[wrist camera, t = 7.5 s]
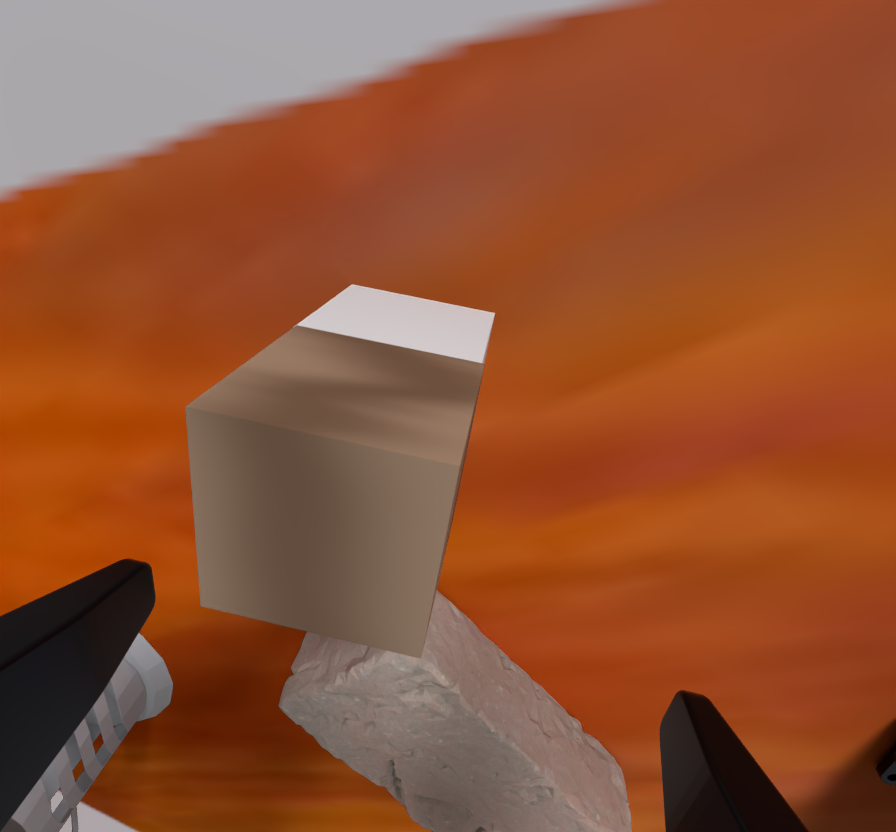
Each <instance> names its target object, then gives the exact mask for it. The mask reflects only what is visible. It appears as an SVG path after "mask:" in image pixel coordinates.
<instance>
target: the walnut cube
mask: <svg viewBox="0 0 896 832" xmlns="http://www.w3.org/2000/svg"><path fill="white" fill-rule="evenodd" d="M484 365H485V364H484V363H479V362H474V361H469V360H464V359H459V358H454V357H449V356H444V355H440V354H435V353H430V352H425V351H420V350H415V349H410V348H405V347H401V346H396V345H391V344H386V343H381V342H376V341H371V340H366V339H362V338H357V337H352V336H347V335H342V334H337V333H332V332H327V331H322V330H318V329H313V328H308V327H303V326H298V325H296V326H295V327H294V328H292V329H291V330H289V331H288V332H287V333H285V334H284V335H283V336H281V337H280V338H278V339H277V340H276V341H274V342H273V343H272V344H270V345H269V346H268V347H266V348H265V349H263V350H262V351H261V352H259V353H258V354H257V355H255V356H254V357H253V358H251V359H250V360H248V361H247V362H246V363H244V364H243V365H242V366H240V367H239V368H237V369H236V370H235V371H233V372H232V373H231V374H229V375H228V376H227V377H225V378H224V379H222V380H221V381H220V382H218V383H217V384H216V385H214V386H213V387H212V388H210V389H209V390H207V391H206V392H205V393H203V394H202V395H201V396H199V397H198V398H196V399H195V400H194V401H192V402H191V403H190V404H188V405H187V406H186V407H185V408H186V421H187V434H188V447H189V460H190V473H191V486H192V499H193V512H194V525H195V538H196V551H197V564H198V577H199V590H200V603H201V606H202V607H207V608H211V609H215V610H219V611H223V612H227V613H232V614H236V615H240V616H244V617H248V618H252V619H257V620H261V621H265V622H269V623H273V624H278V625H282V626H286V627H290V628H294V629H298V630H303V631H307V632H311V633H315V634H319V635H323V636H328V637H332V638H336V639H340V640H344V641H349V642H353V643H357V644H361V645H365V646H369V647H374V648H378V649H382V650H386V651H390V652H394V653H399V654H403V655H407V656H411V657H415V658H420V659H421V657H422V653H423V648H424V644H425V639H426V635H427V630H428V626H429V622H430V617H431V613H432V608H433V604H434V600H435V595H436V591H437V586H438V582H439V578H440V573H441V569H442V564H443V560H444V555H445V551H446V547H447V542H448V538H449V533H450V529H451V525H452V520H453V516H454V511H455V506H456V501H457V496H458V491H459V486H460V481H461V477H462V472H463V467H464V462H465V457H466V452H467V447H468V443H469V438H470V433H471V428H472V423H473V418H474V413H475V409H476V404H477V399H478V394H479V389H480V384H481V379H482V374H483V370H484Z"/></svg>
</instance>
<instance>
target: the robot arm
mask: <svg viewBox="0 0 896 832" xmlns="http://www.w3.org/2000/svg"><path fill="white" fill-rule="evenodd" d="M154 604H155V589H154V582H153V574H152V568H151V566H150V565H149V564H148V563H146V562H142V561H137V560H133V559H123V560H120V561H118V562H116V563H114V564H111V565H109V566H107V567H105V568H103V569H101V570H99V571H96V572H94V573H92V574H90V575H88V576H86V577H84V578H81V579H79V580H77V581H75V582H73V583H71V584H68V585H66V586H64V587H62V588H60V589H58V590H56V591H53V592H51V593H49V594H47V595H45V596H43V597H41V598H38V599H36V600H34V601H32V602H30V603H28V604H26V605H23V606H21V607H19V608H17V609H15V610H13V611H11V612H8V613H6V614H4V615H2V616H0V832H1V831H2V830H3V828H4V827H5V826H6V824H7V823H8V821H9V820H10V819H11V817H12V816H13V815H14V813H15V812H16V811H17V809H18V808H19V806H20V805H21V804H22V802H23V801H24V800H25V798H26V797H27V796H28V794H29V793H30V792H31V790H32V789H33V787H34V786H35V785H36V783H37V782H38V781H39V779H40V778H41V777H42V775H43V774H44V772H45V771H46V770H47V768H48V767H49V766H50V764H51V763H52V762H53V760H54V759H55V757H56V756H57V755H58V753H59V752H60V751H61V749H62V748H63V747H64V745H65V744H66V743H67V741H68V740H69V738H70V737H71V736H72V734H73V733H74V732H75V730H76V729H77V728H78V726H79V725H80V723H81V722H82V721H83V719H84V718H85V717H86V715H87V714H88V713H89V711H90V710H91V708H92V707H93V706H94V704H95V703H96V701H97V700H98V699H99V697H100V696H101V694H102V693H103V691H104V689H105V688H106V686H107V685H108V683H109V682H110V680H111V678H112V677H113V675H114V673H115V672H116V670H117V668H118V667H119V665H120V663H121V662H122V660H123V658H124V657H125V655H126V653H127V652H128V650H129V648H130V647H131V645H132V643H133V642H134V640H135V638H136V637H137V635H138V633H139V632H140V630H141V628H142V627H143V625H144V623H145V622H146V620H147V618H148V617H149V615H150V613H151V611H152V609H153V607H154ZM660 750H661V766H662V781H663V797H664V812H665V827H666V832H809V831H808V830H807V828H806V827H805V826H804V824H803V823H802V822H801V820H800V819H799V818H798V816H797V815H796V814H795V812H794V811H793V810H792V808H791V807H790V806H789V804H788V803H787V802H786V801H785V799H784V798H783V797H782V795H781V794H780V793H779V791H778V790H777V789H776V787H775V786H774V785H773V783H772V782H771V781H770V779H769V778H768V777H767V775H766V774H765V773H764V771H763V770H762V769H761V767H760V766H759V765H758V763H757V762H756V761H755V759H754V758H753V757H752V755H751V754H750V753H749V751H748V750H747V749H746V747H745V746H744V745H743V743H742V742H741V741H740V739H739V738H738V737H737V735H736V734H735V733H734V732H733V730H732V729H731V728H730V726H729V725H728V724H727V722H726V721H725V720H724V718H723V717H722V716H721V714H720V713H719V712H718V710H717V709H716V708H715V706H714V705H713V704H712V702H711V701H710V700H709V699H708V698H707V697H705V696H704V695H701V694H697V693H693V692H689V691H684V690H681V691H679V692H677V693H676V695H675V696H674V698H673V700H672V702H671V704H670V706H669V708H668V710H667V711H666V713H665V715H664V717H663V719H662V722H661V725H660ZM876 771H877V773H878V775H879V776H880V778H881V780H882V781H883V782H884V783H887V784H891V785H895V786H896V746H895V747H894V748H893V749H892V750H891V751H890V752H889V754H888V755H887V756H886V757H885V758H884V759H883V760H882V761H881V762H880V763H879V765H878V766H877V767H876Z"/></svg>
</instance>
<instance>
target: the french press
mask: <svg viewBox="0 0 896 832" xmlns="http://www.w3.org/2000/svg"><path fill="white" fill-rule="evenodd" d="M172 690H173V682H172V679H171V677H170V674H169V672H168V669H167V667H166V664H165V662H164V660H163V659H162V657H161V656H160V655H159V654H158V653H157V652H156V651H155V650H154V648H153V647H152V646H151V645H150V644H149V643H148V642H147V641H146V640H145V638H144V637H143V636H142V635H140V634H139V633H138V635H137V637H136V638H135V640H134V642H133V643H132V645H131V647H130V648H129V650H128V652H127V653H126V655H125V657H124V658H123V660H122V662H121V663H120V665H119V667H118V668H117V670H116V672H115V673H114V675H113V677H112V678H111V680H110V682H109V683H108V685H107V686H106V688H105V689H104V691H103V693H102V694H101V696H100V697H99V699H98V700H97V701H96V703H95V704H94V706H93V707H92V708H91V710H90V711H89V713H88V714H87V715H86V717H85V718H84V719H83V721H82V722H81V723H80V725H79V726H78V728H77V729H76V730H75V732H74V733H73V734H72V736H71V737H70V738H69V740H68V741H67V743H66V744H65V745H64V747H63V748H62V749H61V751H60V752H59V753H58V755H57V756H56V757H55V759H54V760H53V762H52V763H51V764H50V766H49V767H48V768H47V770H46V771H45V772H44V774H43V775H42V777H41V778H40V779H39V781H38V782H37V783H36V785H35V786H34V787H33V789H32V790H31V792H30V793H29V794H28V796H27V797H26V798H25V800H24V801H23V802H22V804H21V805H20V806H19V808H18V809H17V811H16V812H15V813H14V815H13V816H12V817H11V819H10V820H9V821H8V823H7V824H6V826H5V827H4V828H3V830H2V831H1V832H59V831H60V829H61V828H62V826H63V825H64V823H65V822H66V821H67V819H68V818H69V816H70V815H71V818H72V832H78V820H77V808H76V806H77V805H78V803H79V802H80V801H81V799H82V798H83V796H84V795H85V793H86V792H87V791H88V789H89V788H90V786H91V785H92V783H93V782H94V781H95V779H96V778H97V776H98V775H99V773H100V772H101V771H102V769H103V768H104V766H105V765H106V763H107V762H108V761H109V759H110V758H111V756H112V755H113V753H114V752H115V751H116V749H117V748H118V746H119V745H120V743H121V742H122V741H123V739H124V738H125V736H126V735H127V733H128V732H129V731H130V729H131V728H132V726H133V725H134V723H135V722H137V721H141V720H145V719H148V718H152V717H155V716H157V715H158V714H159V713H160V712H161V711H162V710H163V709H165V708H166V707H167V706H168V705H169V704H170V702H171V696H172ZM115 725H116V727H115V728H113V726H115ZM100 733H101V734H102V738H103V741H104V743H103V745H102V746H101V748H100V749H99V750H98V752H97V753H96V754H95V751H94V747H93V742H94V741H95V740H96V738H97V737H98V736H99V734H100ZM81 758H82V762H83V765H84V769H85V770H84V771H83V772H82V774H81V775H80V776H79V778H78V779H77V781H76V782H75V779H74V776H73V772H72V770H73V769H74V768H75V766H76V765H77V764H78V762H79V761H80V760H81ZM59 788H61V791H62V795H63V800H62V801H61V803H60V804H59V805H58V807H57V808H56V810H55V811H54V812H53V814H52V812H51V802H50V800H51V799H52V797H53V796H54V795H55V793H56V792H57V791H58V789H59Z"/></svg>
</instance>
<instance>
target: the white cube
mask: <svg viewBox="0 0 896 832" xmlns="http://www.w3.org/2000/svg"><path fill="white" fill-rule="evenodd" d="M494 315H495V313H491V312H486V311H482V310H477V309H472V308H467V307H462V306H457V305H452V304H447V303H442V302H437V301H432V300H427V299H422V298H417V297H412V296H407V295H402V294H397V293H392V292H387V291H383V290H378V289H373V288H368V287H363V286H358V285H353V284H352V285H350V286H349V287H348V288H346V289H345V290H344V291H342V292H341V293H340V294H338V295H337V296H335V297H334V298H333V299H331V300H330V301H329V302H327V303H326V304H324V305H323V306H322V307H320V308H319V309H318V310H316V311H315V312H314V313H312V314H311V315H309V316H308V317H307V318H305V319H304V320H303V321H301V322H300V323H298V324H297V325H298V326H303V327H308V328H313V329H318V330H322V331H327V332H332V333H337V334H342V335H347V336H352V337H357V338H362V339H366V340H371V341H376V342H381V343H386V344H391V345H396V346H401V347H405V348H410V349H415V350H420V351H425V352H430V353H435V354H440V355H444V356H449V357H454V358H459V359H464V360H469V361H474V362H479V363H485V358H486V353H487V349H488V344H489V339H490V334H491V329H492V325H493V320H494ZM294 327H295V326H294Z"/></svg>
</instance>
